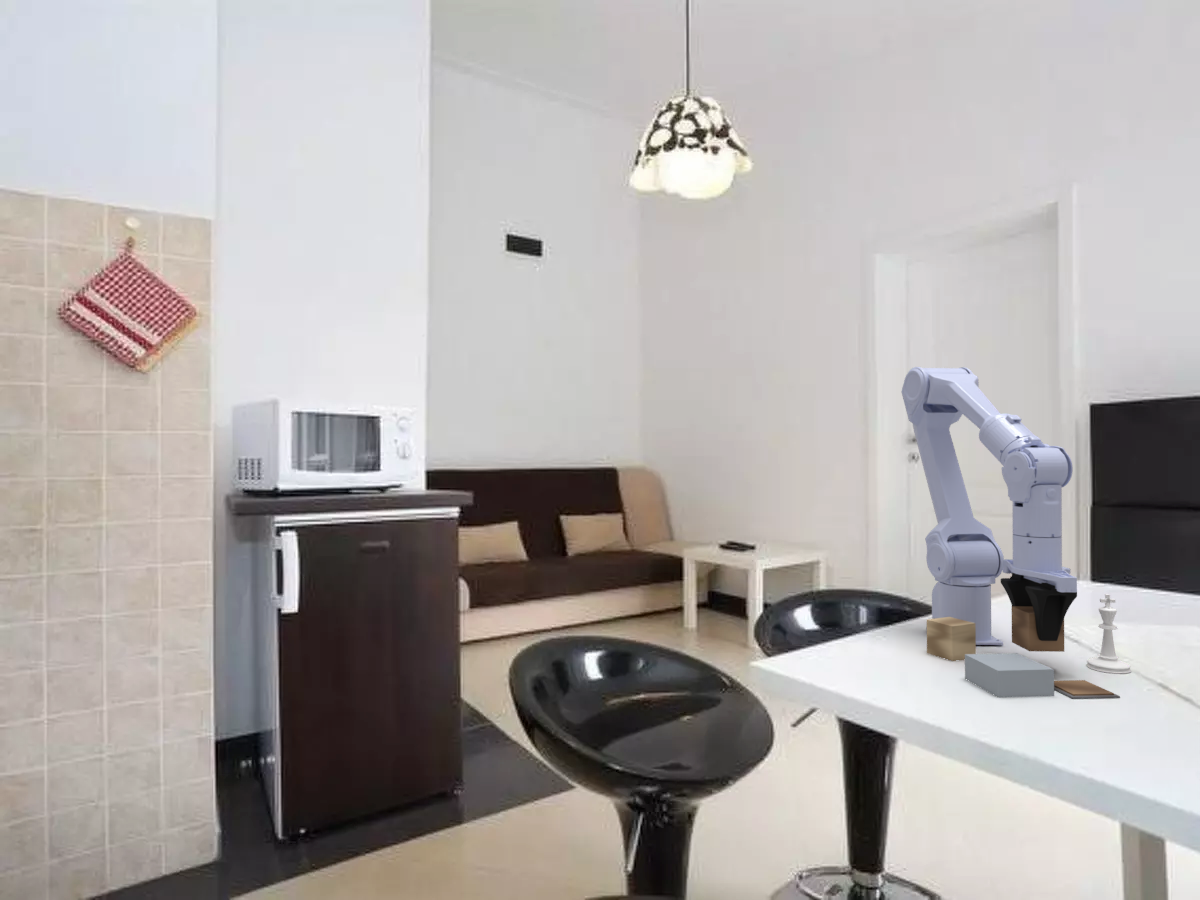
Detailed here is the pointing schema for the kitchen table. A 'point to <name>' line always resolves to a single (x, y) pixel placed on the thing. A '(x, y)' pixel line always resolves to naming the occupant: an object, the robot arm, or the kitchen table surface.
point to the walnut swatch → (1082, 689)
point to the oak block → (951, 638)
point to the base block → (1009, 675)
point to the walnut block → (1032, 632)
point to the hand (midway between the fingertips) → (1037, 635)
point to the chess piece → (1108, 643)
